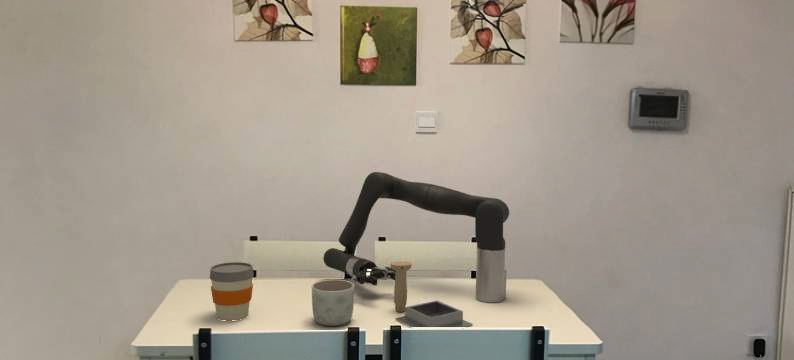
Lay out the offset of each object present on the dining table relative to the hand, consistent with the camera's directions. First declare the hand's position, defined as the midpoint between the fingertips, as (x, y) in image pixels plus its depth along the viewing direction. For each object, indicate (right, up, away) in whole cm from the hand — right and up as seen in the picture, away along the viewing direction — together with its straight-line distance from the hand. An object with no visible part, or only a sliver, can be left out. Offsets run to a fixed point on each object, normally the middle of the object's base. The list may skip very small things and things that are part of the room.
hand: (387, 280), depth 187 cm
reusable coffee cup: (-46, -9, -12) cm, 48 cm away
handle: (+4, -9, -5) cm, 11 cm away
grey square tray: (+14, -10, -15) cm, 23 cm away
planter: (-16, -10, -15) cm, 24 cm away
